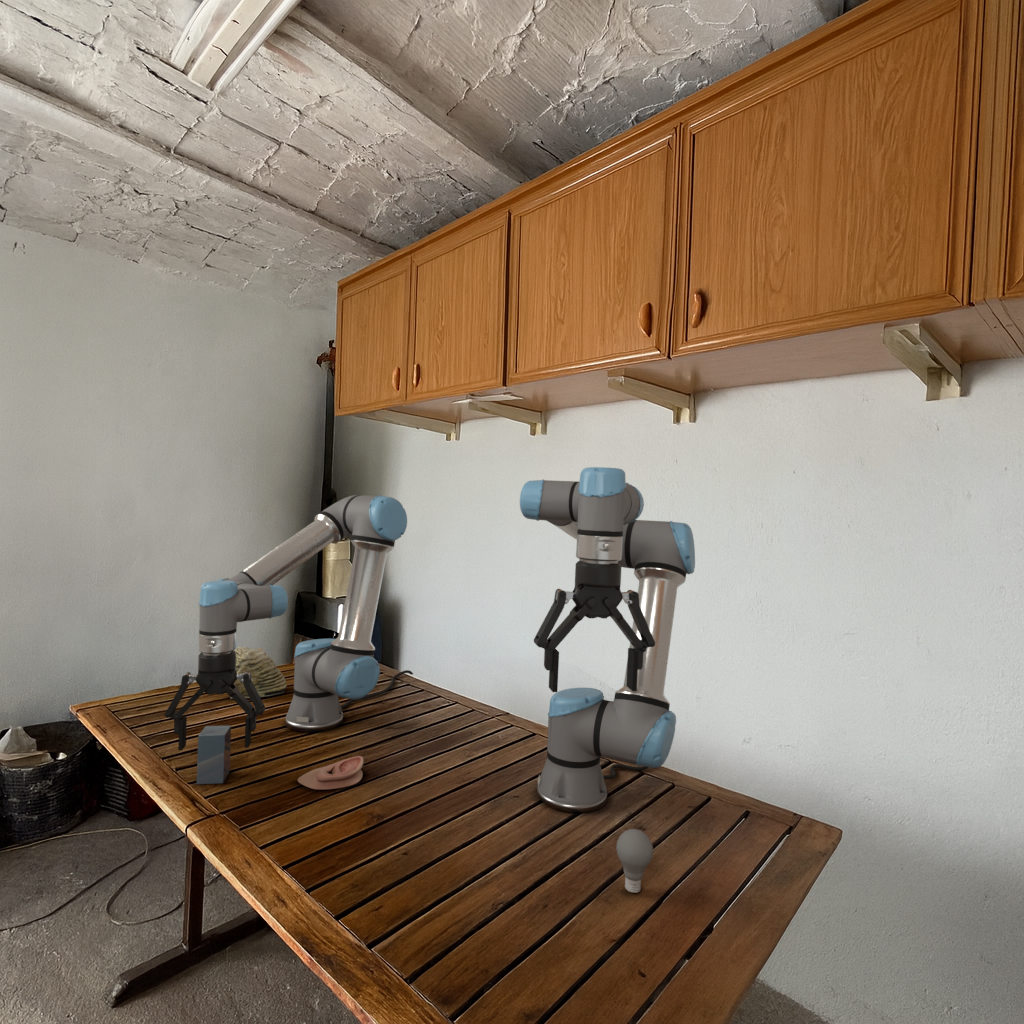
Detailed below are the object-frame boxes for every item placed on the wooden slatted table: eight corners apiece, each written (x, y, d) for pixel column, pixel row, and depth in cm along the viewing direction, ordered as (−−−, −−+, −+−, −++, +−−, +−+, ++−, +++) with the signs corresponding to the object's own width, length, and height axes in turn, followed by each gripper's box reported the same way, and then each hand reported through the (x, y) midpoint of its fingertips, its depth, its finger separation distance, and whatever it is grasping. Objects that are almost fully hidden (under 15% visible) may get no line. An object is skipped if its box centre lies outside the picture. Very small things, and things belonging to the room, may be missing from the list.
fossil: (218, 695, 195) (220, 647, 195) (278, 685, 208) (279, 640, 207) (228, 703, 189) (230, 653, 188) (289, 692, 201) (290, 645, 201)
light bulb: (610, 879, 108) (613, 822, 108) (644, 879, 109) (647, 822, 109) (619, 902, 102) (622, 840, 102) (655, 901, 103) (658, 840, 103)
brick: (204, 772, 143) (205, 726, 142) (229, 771, 144) (231, 725, 143) (196, 784, 137) (198, 735, 137) (223, 783, 138) (224, 734, 138)
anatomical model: (290, 768, 137) (317, 748, 149) (290, 786, 138) (316, 764, 149) (347, 776, 135) (370, 755, 146) (346, 794, 135) (369, 772, 146)
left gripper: (149, 656, 134) (147, 756, 134) (273, 655, 138) (271, 751, 139) (162, 648, 141) (160, 742, 142) (279, 646, 146) (277, 737, 146)
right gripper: (529, 561, 98) (523, 697, 99) (679, 565, 103) (672, 694, 104) (520, 557, 106) (514, 683, 106) (659, 560, 110) (654, 681, 111)
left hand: (215, 746), depth 140 cm, fingers open, 13 cm apart
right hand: (592, 689), depth 105 cm, fingers open, 13 cm apart
